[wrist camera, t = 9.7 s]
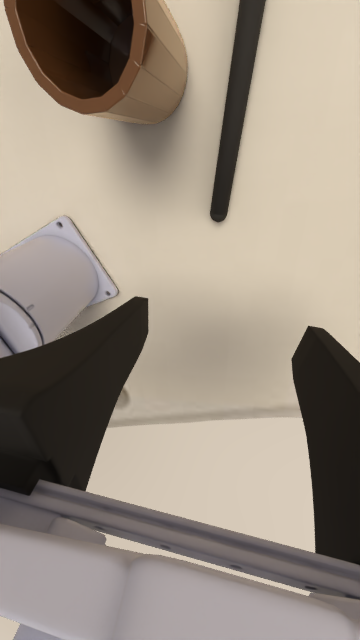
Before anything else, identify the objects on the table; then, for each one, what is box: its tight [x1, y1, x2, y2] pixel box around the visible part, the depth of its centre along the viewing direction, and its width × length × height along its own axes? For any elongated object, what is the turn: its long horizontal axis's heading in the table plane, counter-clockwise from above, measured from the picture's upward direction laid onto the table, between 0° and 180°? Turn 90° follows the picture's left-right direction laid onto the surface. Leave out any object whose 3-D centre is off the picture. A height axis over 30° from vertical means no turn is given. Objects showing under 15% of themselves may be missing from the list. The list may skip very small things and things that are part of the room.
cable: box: [210, 0, 266, 222], centre depth 12 cm, size 19×2×1 cm, turn 175°
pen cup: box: [4, 0, 188, 124], centre depth 11 cm, size 5×5×8 cm
